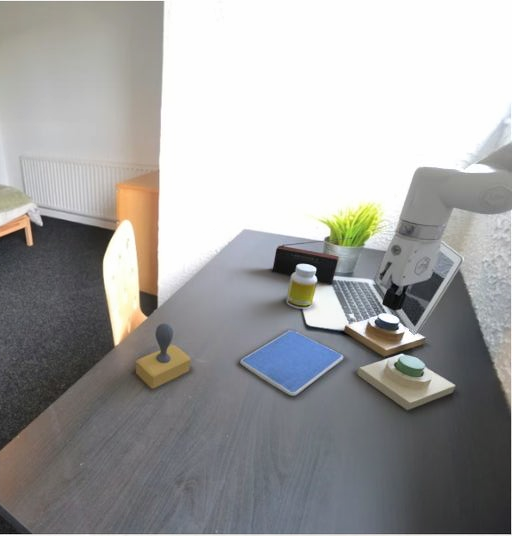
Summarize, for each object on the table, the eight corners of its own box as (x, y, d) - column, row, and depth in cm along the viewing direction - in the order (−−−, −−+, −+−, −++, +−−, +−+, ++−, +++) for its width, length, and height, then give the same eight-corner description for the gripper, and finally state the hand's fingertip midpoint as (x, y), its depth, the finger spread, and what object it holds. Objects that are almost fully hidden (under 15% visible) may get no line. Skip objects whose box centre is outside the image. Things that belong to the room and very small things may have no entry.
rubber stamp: (172, 356, 82) (174, 310, 77) (190, 371, 78) (194, 323, 73) (135, 373, 78) (135, 325, 73) (151, 390, 73) (153, 340, 68)
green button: (405, 361, 74) (408, 353, 73) (426, 374, 70) (430, 365, 69) (390, 366, 72) (393, 357, 72) (411, 379, 69) (415, 371, 68)
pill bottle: (315, 310, 98) (324, 272, 93) (291, 310, 98) (299, 273, 93) (304, 298, 103) (312, 262, 98) (282, 298, 103) (289, 262, 99)
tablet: (290, 332, 89) (291, 327, 89) (344, 360, 80) (346, 355, 79) (237, 364, 79) (238, 359, 79) (293, 400, 70) (294, 395, 69)
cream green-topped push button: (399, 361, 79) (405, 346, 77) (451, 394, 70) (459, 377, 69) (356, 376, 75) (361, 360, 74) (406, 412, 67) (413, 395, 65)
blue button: (384, 319, 87) (386, 311, 86) (401, 328, 83) (404, 320, 82) (371, 323, 86) (373, 315, 85) (388, 332, 82) (391, 324, 81)
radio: (271, 273, 117) (279, 228, 111) (274, 269, 120) (282, 225, 113) (338, 288, 108) (351, 240, 101) (340, 284, 110) (352, 236, 103)
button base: (380, 322, 92) (384, 308, 90) (422, 345, 83) (428, 330, 82) (343, 332, 89) (347, 318, 87) (383, 358, 80) (388, 343, 78)
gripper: (412, 240, 69) (382, 323, 77) (465, 229, 73) (432, 309, 81) (374, 227, 75) (350, 305, 83) (425, 218, 80) (398, 293, 88)
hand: (391, 307), depth 82 cm, fingers closed
